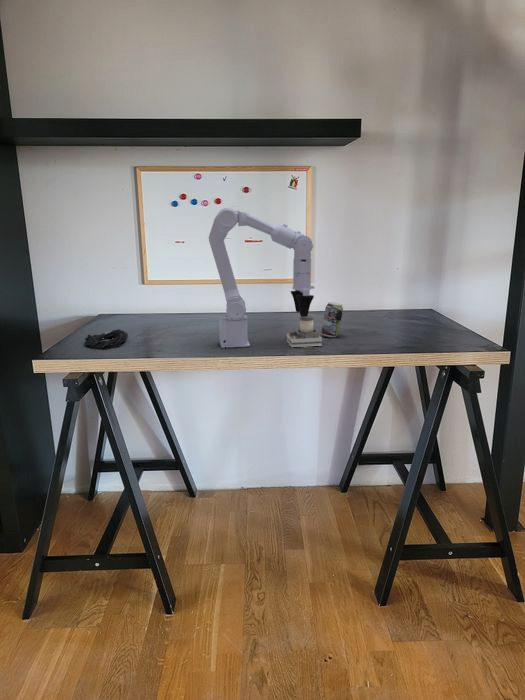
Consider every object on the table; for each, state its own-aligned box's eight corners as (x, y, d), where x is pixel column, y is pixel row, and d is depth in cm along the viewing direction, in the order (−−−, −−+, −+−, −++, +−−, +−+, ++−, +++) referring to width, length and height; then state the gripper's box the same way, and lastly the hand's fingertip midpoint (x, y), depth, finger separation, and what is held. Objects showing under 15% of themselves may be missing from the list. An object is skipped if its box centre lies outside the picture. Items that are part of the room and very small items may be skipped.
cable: (123, 350, 168) (122, 337, 167) (79, 351, 167) (78, 338, 166) (130, 337, 185) (129, 325, 184) (90, 339, 183) (88, 327, 182)
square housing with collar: (291, 348, 166) (291, 334, 165) (286, 342, 174) (286, 329, 173) (321, 346, 168) (321, 333, 167) (315, 340, 175) (315, 327, 174)
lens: (301, 337, 168) (301, 319, 166) (298, 334, 172) (298, 316, 171) (315, 336, 169) (315, 318, 167) (311, 333, 173) (311, 315, 171)
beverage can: (318, 335, 183) (318, 302, 180) (336, 333, 185) (337, 300, 182) (326, 339, 177) (327, 305, 174) (345, 337, 180) (346, 303, 176)
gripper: (319, 275, 161) (318, 318, 164) (309, 270, 174) (308, 309, 178) (297, 275, 160) (296, 318, 163) (288, 270, 174) (288, 310, 177)
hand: (301, 314), depth 171 cm, fingers open, 7 cm apart
